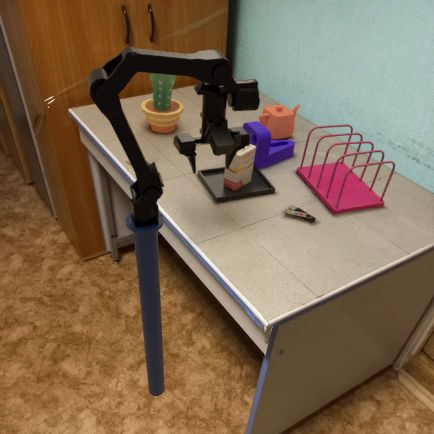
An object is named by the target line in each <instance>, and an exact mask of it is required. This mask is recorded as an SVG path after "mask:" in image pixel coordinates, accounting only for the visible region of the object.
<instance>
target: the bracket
mask: <svg viewBox="0 0 434 434" xmlns="http://www.w3.org/2000/svg"><path fill="white" fill-rule="evenodd" d="M242 128H243V129H244V130H245V131H246V132H247V133H248V134H249V135H250V138H251V140H250V144H251V145H254V146H256V151H255V157H254V164H255V166H256V167H257V168H258V169H259V170H260V169H265V168H269V167H270V166H273V165H275V164H278V163H281V162H282V161H285V160H287V159H289V158H292V157H293V155H294V151H295V147H296V142H295V141H294V140H292V139H275V140H274V139H271V133H270V131H269V130H268V129H267V128H266V127H265V126H263V125H262V124H261V123H260V122H259V120H255V121H248V122H244V123H243V124H242Z"/></svg>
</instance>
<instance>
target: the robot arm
mask: <svg viewBox="0 0 434 434" xmlns="http://www.w3.org/2000/svg"><path fill="white" fill-rule="evenodd" d="M138 73H143V74H145V73H146V74H150V73H154V74H166V75H176V77H178V76H179V77H180V76H181V77H189V78H192V79H195V80H197V81H199V82H198V83H197V84H195V85H194V86H193V90H194V91H195V93H196V95H197V96H202V99H201V100H202V103H201V111H200V112H199V116H200V119H201V127H200V128H199V134H200V136H196V137H193V136H192V135H191V133H190V132H182V133H175V135H174V137H173V146H174V147H175V149H176V150H177V152H178V153H179V155H182V156H184V157H187V160H188V163H189V166H190V168H191V171H192V173H193V174H194V175H196V174H197V161H196V160H197V159H196V157H197V156H198V154H197V152H196V151H197V147H198V146H205V145H209V146H210V148H211V151H212V154H213V155H214V156H216V157H219V156H222V155H225V156H224V167H225V168H226V169H228V168H229V166H230V164H231V162H232V160H233V158H234V156H235V155H236V153H237V152H238V151H240V150H241V149H244V148H245V146H249V145H250V140H251V138H250V135H249V134H248V133H247V132H246V131H245V130H244V129H243V126H234V127H233V126H232V127H229V122H228V121H229V119H228V118H227V106H228V108H231V110H232V112H251V111H258V109H259V107H260V105H261V104H260V103H261V98H260V89H259V82H258V80H257V79H256V78H249V79H238V80H236V78H235V77H234V76H233V68H232V64H231V62H230V60H229V59H228V58H227V57H226V56H225V55H224V53H222V52H221V51H220V50H218V49H205V50H204V49H203V50H198V51H196V52H192V53H184V52H175V51H166V50H155V49H146V48H139V47H138V48H137V47H134V46H126V47H124V49H122V51H121V52H120V53H119V54H117V55H115V56H113V58H111V59H109V60H108V61H106V63H105V64H103V66H101V67H98V68H95V69H93V70H92V71H91V72H90V73H89V74H88V78H87V86H88V92H89V96H90V99H91V100H92V102H93V103H94V105H95V107H97V109H98V111H100V113H101V114H102V115H103V116H104V117H105V118H106V119H107V120H108V122H109V124H110V125H111V127H112V129H113V132H114V133H115V135H116V137H117V140H118V142H119V143H120V145H121V147H122V150H123V151H124V153H125V155H126V157H127V159H128V161H129V163H130V165H131V167H132V169H133V171H134V175H135V178H136V180H135V181H134V182H133V183H132V184H131V185H129V190H130V194H131V198H130V209H131V212H132V213H131V218H132V220H133V222H134V225H135V227H136V228H140V227H146V226H151V225H157V224H159V221H158V218H159V213H160V211H159V209H160V208H159V204H158V200H160V199H161V197H162V196H163V194H164V189H163V188H165V184H164V180H163V178H162V175H161V172H160V171H159V170H158V167H157V165H156V161H153V162H148V160H147V159H146V157H145V154H144V153H143V150H142V148H141V146H140V144H139V142H138V139H137V138H136V136H135V133H134V132H133V128H132V127H131V124H130V123H129V121H128V119H127V116H126V114H125V112H124V110H123V106H122V102H121V99H120V95H119V94H120V93H121V92H122V91H123V90H124V89H125V88H126V87H127V86H128V84H130V82H131V81H132V79H133V77H135V75H137V74H138Z"/></svg>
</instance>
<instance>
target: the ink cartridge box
mask: <svg viewBox="0 0 434 434" xmlns="http://www.w3.org/2000/svg"><path fill="white" fill-rule="evenodd" d="M255 151H256V146H254V145H251V144H250V145H249V146H245V148H244V149H241V150H240V151H238V152H237V153H236V155H235V156H234V158H233V160H232V162H231V164H230V166H229V168H228V169H226V168H225V173H224V184H223V185H224V186H226V187H228V188H230V189H232V190H234V191H236V190H238V189H239V188H241V187H243V186H244V185H246V184H247V183H249V182H250V181H251V176H252V170H253V163H254V157H255Z"/></svg>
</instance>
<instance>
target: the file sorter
mask: <svg viewBox="0 0 434 434" xmlns="http://www.w3.org/2000/svg"><path fill="white" fill-rule="evenodd" d="M345 127H348V128H349V129H350V132H346V133H345V132H344V133H332V134H325V135H323V136H321V137H320V138H319V139H318V140H317V142H316V144H315V149H314V152H313V156H312V160H311V164H310V165H304V163H305V162H304V161H305V158H306V154H307V150H308V146H309V141H310V139H311V134H312V133H313V132H314V131H315V130H317V129H318V130H319V129H329V128H345ZM344 136H345V137H346V136H348V138H347V141H343V142H334V143H333V144H331V145H330V146H329V147H328V148H327V151H326V153H325V157H324V160H323V163H319V164H315V160H316V156H317V152H318V148H319V145H320V143H321V141H322V140H323V139H325V138H333V137H344ZM352 136H359V137H360V140H359V141H351V139H352ZM362 144H363V145H364V144H369V145H371V149H370V150H365V151H360V150H361V147H362ZM343 145H346V146H345V150H344V152H343V154H342V155H341V156H339V157H338V159H337V160H336V162H327V160H328V157H329V153H330V152H331V149H332V148H334V147H337V146H343ZM349 145H358V146H357V149H356V152H349V153H347V151H348V148H349ZM374 153H381V158H380V161H377V162H370V160H371V158H372V156H373V154H374ZM366 154H367V155H368V157H367V159H366V162H365V163H361V164H356V162H357V158H358V155H366ZM350 156H351V157H352V156H354V159H353V161H352V164H351V167H350V166H348V165H347V164H346V163H345V158H346V157H350ZM384 159H385V152H384V151H383V150H382V149H375V144H374V143H373V142H372V141H370V140H364V137H363V135H362V134H361V133H360V132H354V128H353V126H352V125H351V124H346V123H345V124H332V125H331V124H329V125H328V124H327V125H317V126H314V127H312V128H311V129H310V130H309V131H308V134H307V137H306V141H305V145H304V150H303V154H302V158H301V163H300V166H298V167H296V171H295V172H296V174H298V176H299V177H300V178H301V179H302V180H303V181H304V183H306V185H307V186H308V187H309V188H310V189H311V190H312V192H313V193H314V194H315V195H316V196H317V197H318V198H319V199H320V201H321V202H322V203H323V204H324V205H325V206H326V207H327V209H328V210H329V211H330V212H331V213H332V215H339V214H346V213H351V212H352V213H353V212H358V211H365V210H369V209H371V210H372V209H376V208H382V207H384V206H385V204H386V202H385V201H384V200H383V199H384V197H385V195H386V192H387V189H388V187H389V185H390V182H391V180H392V178H393V174H394V172H395V169H396V163H395V162H394V161H392V160H384ZM355 164H356V165H355ZM385 164H392V168H391V171H390V174H389V176H388V179H387V181H386V184H385V187H384V189H383V191H382V194H381V196H380V195H379V194H378V193H377V192H375V191H374V190H373V188H374V186H375V183H376V180H377V178H378V175H379V172H380V170H381V167H382V165H385ZM376 165H378V167H377V169H376V172H375V174H374V177H373V179H372V182H371V184H370V186H369V185H368V184H367V183H366V182H365V181H364V180H363V178H364V176H365V173H366V170H367V168H368V167H370V166H376ZM362 167H364V168H363V169H362V173H361V175H360V176H359V175H358V174H356V173H355V172H354V171H353V170H354V169H356V168H362Z"/></svg>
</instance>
